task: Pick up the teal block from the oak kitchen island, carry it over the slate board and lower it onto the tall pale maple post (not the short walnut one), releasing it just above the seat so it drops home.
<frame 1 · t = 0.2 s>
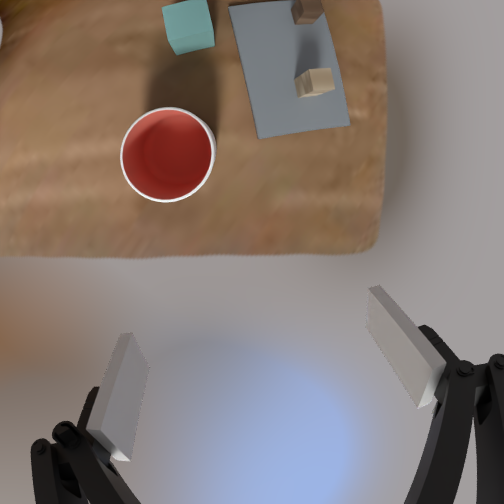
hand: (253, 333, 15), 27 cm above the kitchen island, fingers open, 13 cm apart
maple post: (302, 89, 35), resting on board
cup: (179, 149, 37), on the kitchen island
walnut post: (299, 19, 30), resting on board
board: (289, 63, 33), on the kitchen island
teal block: (192, 34, 30), on the kitchen island
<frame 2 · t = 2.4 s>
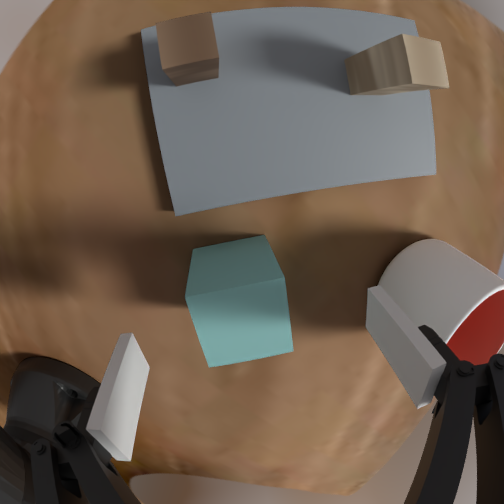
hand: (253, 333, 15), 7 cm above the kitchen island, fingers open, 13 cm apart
maple post: (356, 79, 17), resting on board
cup: (412, 282, 25), on the kitchen island
walnut post: (195, 67, 16), resting on board
board: (306, 94, 17), on the kitchen island
teal block: (235, 273, 22), on the kitchen island
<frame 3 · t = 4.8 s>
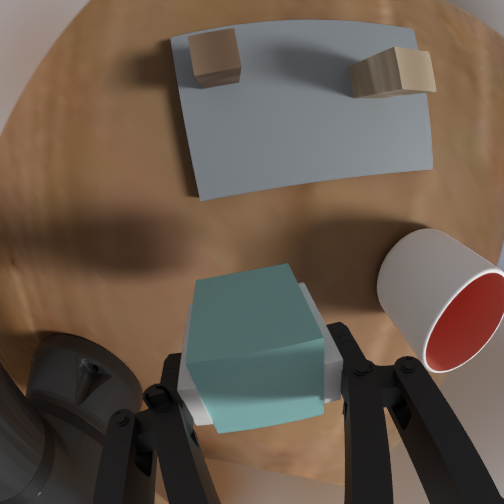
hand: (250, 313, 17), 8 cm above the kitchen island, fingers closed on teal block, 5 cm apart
maple post: (360, 84, 19), resting on board
cup: (412, 269, 27), on the kitchen island
walnut post: (218, 72, 19), resting on board
board: (315, 97, 20), on the kitchen island
teal block: (249, 310, 17), point 8 cm above the kitchen island, touching gripper
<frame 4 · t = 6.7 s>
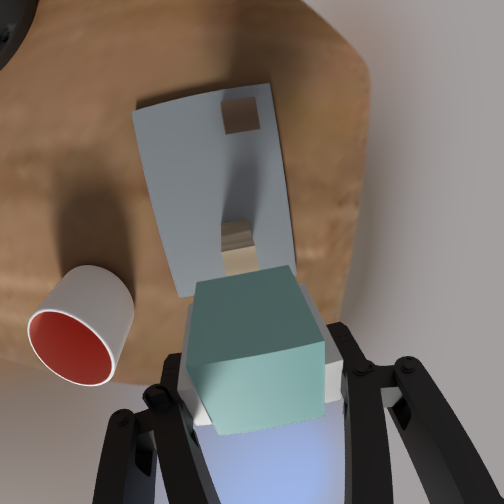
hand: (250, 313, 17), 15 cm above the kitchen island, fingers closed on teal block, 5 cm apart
maple post: (235, 229, 30), resting on board
cup: (99, 297, 32), on the kitchen island
walnut post: (236, 119, 26), resting on board
board: (218, 194, 29), on the kitchen island
teal block: (250, 311, 17), point 14 cm above the kitchen island, touching gripper
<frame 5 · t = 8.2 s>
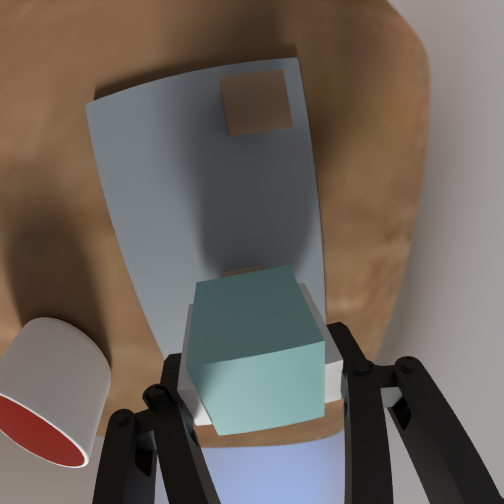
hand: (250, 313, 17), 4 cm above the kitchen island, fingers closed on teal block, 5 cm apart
cup: (68, 352, 23), on the kitchen island
walnut post: (245, 112, 16), resting on board
board: (217, 227, 19), on the kitchen island
teal block: (250, 311, 17), point 4 cm above the kitchen island, touching gripper
when the fingers open (2 cm above the kitchen island, at t = 8.9 s): teal block stays where it is, resting on maple post.
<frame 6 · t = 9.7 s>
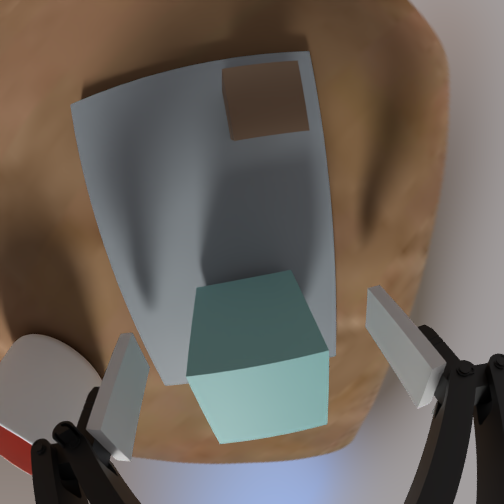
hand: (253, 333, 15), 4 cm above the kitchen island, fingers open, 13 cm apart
cup: (61, 369, 21), on the kitchen island
walnut post: (249, 112, 14), resting on board
board: (219, 241, 17), on the kitchen island
teal block: (251, 317, 17), point 2 cm above the kitchen island, touching maple post
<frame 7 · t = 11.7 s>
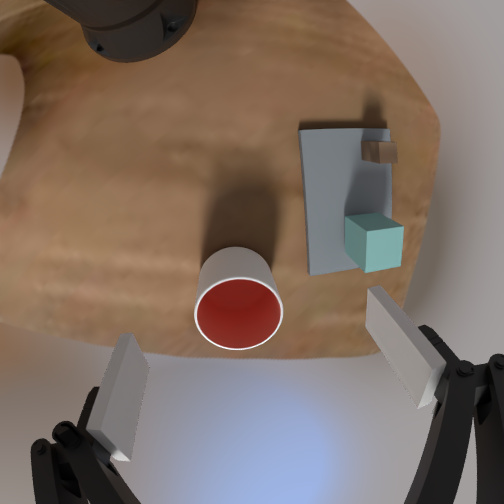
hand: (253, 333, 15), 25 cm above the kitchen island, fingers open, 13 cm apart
cup: (234, 276, 42), on the kitchen island
walnut post: (365, 149, 36), resting on board
board: (348, 200, 39), on the kitchen island
teal block: (361, 232, 38), point 2 cm above the kitchen island, touching maple post
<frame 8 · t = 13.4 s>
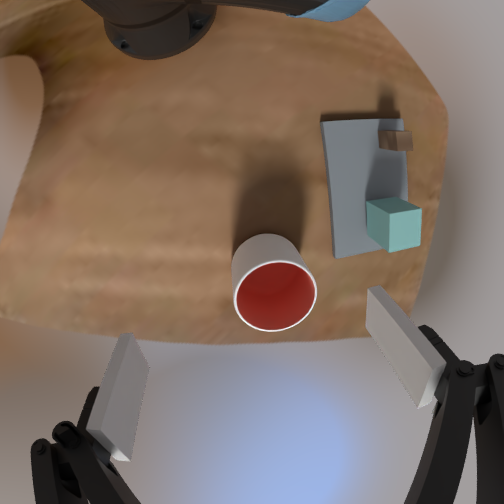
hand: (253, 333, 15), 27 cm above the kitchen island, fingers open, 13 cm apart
cup: (264, 262, 44), on the kitchen island
walnut post: (381, 138, 38), resting on board
board: (368, 186, 40), on the kitchen island
teal block: (382, 215, 40), point 2 cm above the kitchen island, touching maple post
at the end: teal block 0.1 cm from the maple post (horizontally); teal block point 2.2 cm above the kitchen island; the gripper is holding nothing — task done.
